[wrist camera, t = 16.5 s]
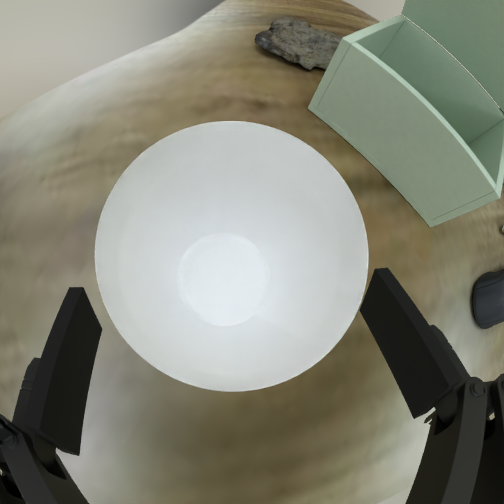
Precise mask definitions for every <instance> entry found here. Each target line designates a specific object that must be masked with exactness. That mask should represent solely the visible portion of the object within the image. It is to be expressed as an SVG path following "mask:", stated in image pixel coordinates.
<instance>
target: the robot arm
mask: <svg viewBox="0 0 504 504" xmlns="http://www.w3.org/2000/svg"><path fill="white" fill-rule="evenodd" d="M360 312H361V314H362V316H363V318H364V320H365V321H366V323H367V325H368V327H369V329H370V331H371V333H372V334H373V336H374V338H375V340H376V342H377V344H378V346H379V348H380V350H381V352H382V354H383V356H384V358H385V359H386V361H387V363H388V365H389V367H390V369H391V371H392V374H393V376H394V378H395V380H396V382H397V384H398V386H399V388H400V390H401V392H402V394H403V396H404V399H405V401H406V403H407V405H408V407H409V409H410V412H411V414H412V416H413V418H414V419H415V418H417V417H419V416H421V415H423V414H425V413H427V412H428V411H429V410H431V409H432V408H433V407H435V409H436V410H435V411H434V412H433V413H432V414H430V415H429V416H428V417H427V418H426V419H425V422H424V423H427V422H428V421H430V420H431V419H432V421H431V422H430V423H429V424H430V425H431V426H430V430H429V434H428V438H427V442H426V446H425V449H424V453H423V456H422V459H421V463H420V466H419V469H418V472H417V475H416V478H415V480H414V483H413V486H412V489H411V491H410V494H409V496H408V499H407V501H406V504H504V374H501V375H500V376H499V377H498V378H497V379H496V380H495V381H489V382H483V381H482V380H481V379H479V378H477V377H470V375H469V374H468V373H467V371H466V369H465V367H464V366H463V364H462V362H461V361H460V359H459V358H458V356H457V354H456V353H455V351H454V350H452V346H451V345H450V343H448V340H447V339H446V337H445V336H444V334H443V333H442V331H440V330H439V329H438V328H437V327H436V326H435V325H431V326H429V324H428V323H427V321H426V320H425V318H424V317H423V315H422V314H421V313H420V311H419V310H418V308H417V307H416V305H415V304H414V303H413V301H412V300H411V298H410V297H409V296H408V294H407V293H406V291H405V290H404V289H403V287H402V286H401V285H400V283H399V282H398V281H397V279H396V278H395V277H394V275H393V274H392V273H391V271H390V270H389V269H388V268H380V269H375V270H374V273H373V276H372V279H371V281H370V284H369V287H368V290H367V292H366V295H365V298H364V300H363V303H362V305H361V308H360ZM101 332H102V327H101V325H100V323H99V321H98V319H97V317H96V315H95V313H94V310H93V308H92V306H91V304H90V302H89V299H88V297H87V295H86V292H85V290H84V288H83V287H69V289H68V292H67V294H66V296H65V298H64V300H63V303H62V305H61V307H60V310H59V312H58V314H57V317H56V319H55V321H54V324H53V326H52V329H51V332H50V334H49V337H48V339H47V342H46V345H45V348H44V351H43V353H42V356H41V358H34V359H33V360H32V361H31V363H30V364H29V366H28V367H27V370H26V373H25V376H24V380H23V383H22V386H21V388H22V389H20V393H19V396H18V400H17V404H16V408H15V412H14V416H13V420H12V423H11V422H10V421H9V420H8V419H6V418H5V417H4V416H3V415H1V414H0V470H2V476H1V474H0V504H89V503H88V502H87V500H86V499H85V497H84V496H83V494H82V493H81V492H80V490H79V489H78V487H77V486H76V484H75V483H74V481H73V479H72V478H71V476H70V475H69V473H68V471H67V470H66V468H65V466H64V465H63V463H62V461H61V460H60V458H59V456H58V455H57V454H56V448H58V449H59V450H61V451H63V452H65V453H69V454H73V455H78V456H79V455H80V444H81V435H82V427H83V420H84V413H85V407H86V401H87V395H88V390H89V385H90V380H91V375H92V370H93V365H94V361H95V357H96V352H97V348H98V344H99V340H100V336H101ZM492 413H494V415H495V418H494V419H492V420H490V418H489V416H490V415H491V414H492Z"/></svg>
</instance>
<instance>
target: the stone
mask: <svg viewBox="0 0 504 504" xmlns="http://www.w3.org/2000/svg"><path fill="white" fill-rule="evenodd" d="M342 38H343V37H341V36H338V35H335V34H334V33H333V32H330V31H328V30H321V31H320V30H317V29H313V28H312V27H311V25H310V24H309V23H308V22H305V21H304V22H301V21H300V20H298V19H294V18H290V17H281V18H279V19H276V20H274V21H273V22H272V23H271V27H270V28H269V30H267V31H262V32H260V33H258V34H257V35H256V37H255V43H256V44H258V45H259V46H261V47H263V49H265V50H267V51H269V52H271V53H273V54H276V55H279V56H282V57H284V58H285V59H287V60H288V61H289V62H295V63H296V62H297V63H299V64H301V65H302V66H303V67H304V68H306V69H309V70H311V69H312V68H313V67H315V66H317V67H320V68H323V69H325V70H326V69H327V68H328V66H329V64H330V61H331V59H332V57H333V55H334V53H335V51H336V49H337V47H338V45H339V43H340V41H341V39H342Z"/></svg>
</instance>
